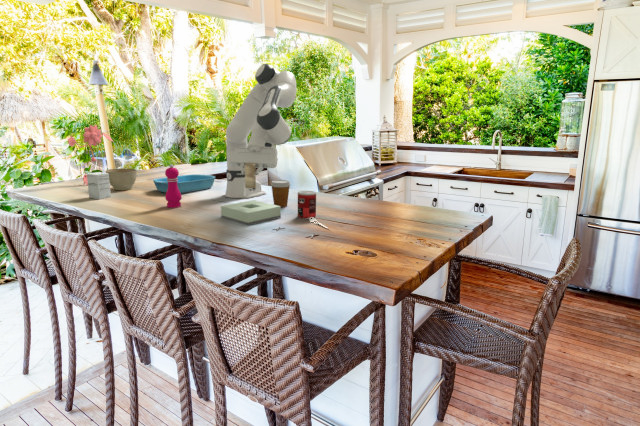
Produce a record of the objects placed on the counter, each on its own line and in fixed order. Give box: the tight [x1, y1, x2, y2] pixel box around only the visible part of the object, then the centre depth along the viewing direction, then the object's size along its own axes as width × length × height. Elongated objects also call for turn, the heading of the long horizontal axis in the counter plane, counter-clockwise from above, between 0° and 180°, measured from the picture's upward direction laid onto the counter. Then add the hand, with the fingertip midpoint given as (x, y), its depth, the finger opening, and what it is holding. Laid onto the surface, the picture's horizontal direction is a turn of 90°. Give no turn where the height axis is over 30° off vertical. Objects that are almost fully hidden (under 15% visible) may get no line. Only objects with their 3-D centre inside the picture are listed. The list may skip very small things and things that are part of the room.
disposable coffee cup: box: [270, 179, 291, 208], centre depth 207 cm, size 10×10×12 cm
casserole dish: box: [152, 173, 216, 194], centre depth 245 cm, size 37×22×7 cm, turn 148°
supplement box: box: [86, 171, 111, 200], centre depth 218 cm, size 7×7×13 cm
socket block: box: [220, 199, 282, 226], centre depth 184 cm, size 18×18×5 cm
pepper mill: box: [164, 163, 182, 209], centre depth 201 cm, size 7×7×20 cm
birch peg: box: [245, 163, 257, 188], centre depth 180 cm, size 4×4×10 cm
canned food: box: [297, 190, 317, 219], centre depth 186 cm, size 8×8×11 cm
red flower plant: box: [67, 124, 114, 187], centre depth 252 cm, size 15×26×35 cm, turn 152°
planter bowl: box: [105, 168, 138, 191], centre depth 242 cm, size 16×16×11 cm
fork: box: [308, 217, 328, 229], centre depth 173 cm, size 3×20×2 cm, turn 28°
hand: (249, 173), depth 180 cm, fingers closed on birch peg, 4 cm apart
